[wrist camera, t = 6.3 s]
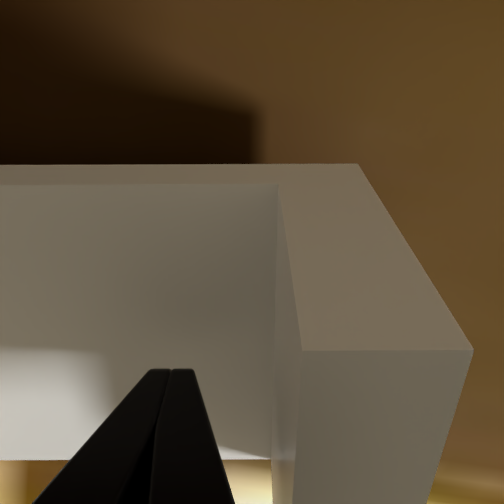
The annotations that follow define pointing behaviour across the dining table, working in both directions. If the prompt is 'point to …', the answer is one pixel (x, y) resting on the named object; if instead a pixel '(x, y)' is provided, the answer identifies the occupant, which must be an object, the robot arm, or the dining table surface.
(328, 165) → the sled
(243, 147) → the dining table surface
